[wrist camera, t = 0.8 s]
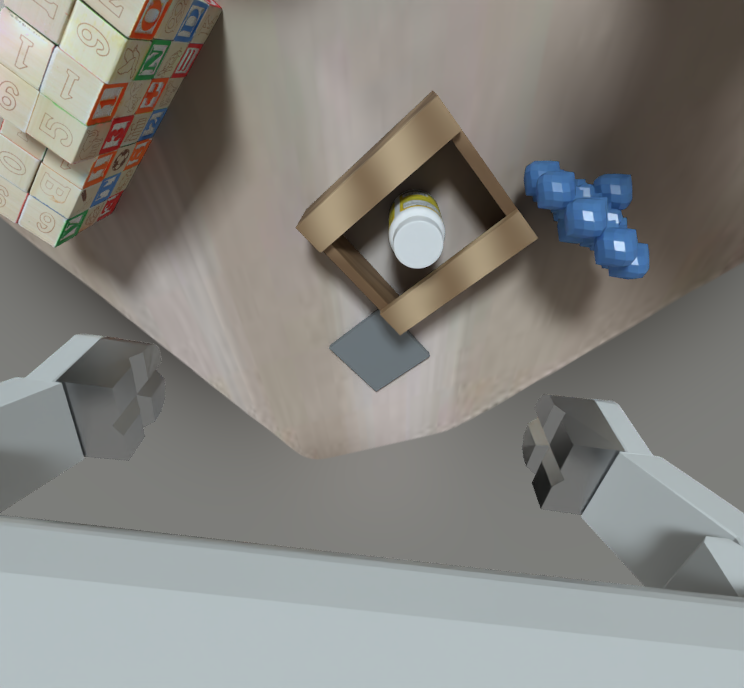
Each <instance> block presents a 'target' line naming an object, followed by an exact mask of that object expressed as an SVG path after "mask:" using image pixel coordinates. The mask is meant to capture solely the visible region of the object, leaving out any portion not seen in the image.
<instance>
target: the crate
mask: <svg viewBox="0 0 744 688" xmlns="http://www.w3.org/2000/svg"><path fill="white" fill-rule="evenodd" d="M450 140H452V141H453V143H454V144H455V145H456V147H457V148H458V150H459V151H460V152H461V154H462V155H463V157H464V158H465V159H466V161H467V162H468V163H469V165H470V166H471V168H472V169H473V170H474V172H475V173H476V175H477V176H478V177H479V179H480V180H481V182H482V183H483V184H484V186H485V187H486V188H487V190H488V191H489V193H490V194H491V195H492V197H493V198H494V200H495V201H496V202H497V204H498V205H499V206H500V208H501V209H502V211H503V212H504V213H505V215H506V217H505V218H503V219H502V220H501V221H499V222H498V223H497V224H495V225H494V226H493V227H491V228H490V229H489V230H487V231H486V232H485V233H483V234H482V235H481V236H479V237H478V238H477V239H475V240H474V241H473V242H471V243H470V244H469V245H467V246H466V247H465V248H463V249H462V250H461V251H459V252H458V253H457V254H455V255H454V256H453V257H451V258H450V259H449V260H447V261H446V262H445V263H443V264H442V265H441V266H439V267H438V268H437V269H435V270H434V271H432V272H431V273H430V274H428V275H427V276H426V277H424V278H423V279H422V280H420V281H419V282H418V283H416V284H415V285H414V286H412V287H411V288H410V289H408V290H407V291H406V292H404V293H403V294H402V295H400V296H399V295H398V294H397V293H396V292H395V290H394V289H393V288H392V287H391V286H390V285H389V284H388V283H387V282H386V281H385V280H384V279H383V277H382V276H381V275H380V274H379V273H378V272H377V271H376V270H375V269H374V268H373V267H372V266H371V264H370V263H369V262H368V261H367V260H366V259H365V258H364V257H363V256H362V255H361V254H360V253H359V251H358V250H357V249H356V248H355V247H354V246H353V245H352V244H351V243H350V242H349V241H348V240H347V239H346V237H345V236H344V235H343V233H344V232H345V231H347V230H348V229H349V228H350V227H351V226H352V225H353V224H355V223H356V222H357V221H358V220H359V219H360V218H361V217H363V216H364V215H365V214H366V213H367V212H368V211H370V210H371V209H372V208H373V207H374V206H375V205H376V204H378V203H379V202H380V201H381V200H382V199H383V198H384V197H386V196H387V195H388V194H389V193H390V192H391V191H392V190H394V189H395V188H396V187H397V186H398V185H399V184H400V183H402V182H403V181H404V180H405V179H406V178H407V177H409V176H410V175H411V174H412V173H413V172H414V171H415V170H417V169H418V168H419V167H420V166H421V165H422V164H423V163H425V162H426V161H427V160H428V159H429V158H430V157H431V156H433V155H434V154H435V153H436V152H437V151H438V150H440V149H441V148H442V147H443V146H444V145H445V144H446V143H448V142H449V141H450ZM296 229H297V230H298V231H299V232H300V233H301V234H302V235H303V236H304V237H305V238H306V239H307V240H308V241H309V242H310V243H311V244H312V245H313V246H314V247H315V248H316V249H317V250H318V251H319V252H320V253H321V252H322V251H323V252H324V253H325V254H326V255H327V256H328V257H329V258H330V259H331V260H332V261H333V262H334V263H335V264H336V265H337V266H338V267H339V268H340V269H341V270H342V271H343V272H344V274H345V275H346V276H347V277H348V278H349V279H350V280H351V281H352V282H353V283H354V284H355V285H356V286H357V287H358V288H359V289H360V290H361V291H362V292H363V293H364V294H365V295H366V296H367V297H368V298H369V299H370V300H371V301H372V303H373V304H374V305H375V306H376V307H377V308H378V309H379V310H380V315H381V316H382V317H383V318H384V319H385V320H386V321H387V322H388V323H389V324H390V325H391V326H392V327H393V328H394V329H395V331H396V332H397V333H398V334H399V335H401V334H403V333H404V332H406V331H407V330H409V329H410V328H411V327H413V326H414V325H416V324H417V323H418V322H420V321H421V320H423V319H424V318H426V317H427V316H428V315H430V314H431V313H433V312H434V311H436V310H437V309H438V308H440V307H441V306H443V305H444V304H446V303H447V302H448V301H450V300H451V299H453V298H454V297H455V296H457V295H458V294H460V293H461V292H463V291H464V290H465V289H467V288H468V287H470V286H471V285H473V284H474V283H475V282H477V281H478V280H480V279H481V278H482V277H484V276H485V275H487V274H488V273H490V272H491V271H492V270H494V269H495V268H497V267H498V266H500V265H501V264H502V263H504V262H505V261H507V260H508V259H509V258H511V257H512V256H514V255H515V254H517V253H518V252H519V251H521V250H522V249H524V248H525V247H527V246H528V245H529V244H531V243H532V242H534V241H535V240H537V239H538V237H537V236H536V234H535V233H534V232H533V230H532V229H531V227H530V226H529V224H528V223H527V222H526V220H525V219H524V217H523V216H522V215H521V213H520V212H519V210H518V209H517V208H516V206H515V205H514V204H513V202H512V201H511V199H510V198H509V196H508V195H507V194H506V192H505V191H504V189H503V188H502V186H501V185H500V184H499V182H498V181H497V179H496V178H495V177H494V175H493V174H492V172H491V171H490V169H489V168H488V167H487V165H486V164H485V162H484V161H483V159H482V158H481V157H480V155H479V154H478V152H477V151H476V150H475V148H474V147H473V145H472V144H471V142H470V141H469V140H468V138H467V137H466V135H465V134H464V132H463V131H462V129H461V128H460V126H459V125H458V124H457V122H456V121H455V119H454V118H453V116H452V115H451V114H450V112H449V111H448V109H447V108H446V106H445V105H444V104H443V102H442V101H441V99H440V98H439V97H438V95H437V94H436V93H435V92H434V91H432V92H431V93H430V94H429V95H427V96H426V97H425V98H424V99H423V100H422V101H421V102H420V103H419V104H418V105H417V106H416V107H415V108H414V109H413V110H412V111H410V112H409V113H408V114H407V115H406V116H405V117H404V118H403V119H402V120H401V121H400V122H399V123H398V124H397V125H396V126H395V127H393V128H392V129H391V130H390V131H389V132H388V133H387V134H386V135H385V136H384V137H383V138H382V139H381V140H380V141H379V142H378V143H376V144H375V145H374V146H373V147H372V148H371V149H370V150H369V151H368V152H367V153H366V154H365V155H364V156H363V157H362V158H361V159H359V160H358V161H357V162H356V163H355V164H354V165H353V166H352V167H351V168H350V169H349V170H348V171H347V172H346V173H345V174H344V175H342V176H341V177H340V178H339V179H338V180H337V181H336V182H335V183H334V184H333V185H332V186H331V187H330V188H329V189H328V190H327V191H325V192H324V193H323V194H322V195H321V196H320V197H319V198H318V199H317V200H316V201H315V202H314V203H313V204H312V205H311V206H310V207H308V208H307V209H306V211H305V212H304V214H303V216H302V218H301V219H300V221H299V223H298V225H297V226H296Z"/></svg>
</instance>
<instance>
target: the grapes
mask: <svg viewBox="0 0 744 688" xmlns="http://www.w3.org/2000/svg"><path fill="white" fill-rule="evenodd" d="M524 185H525V192H526V195H527V196H532V197H533V201H534V202H537V205H538V208H542V209H551V213H553V218H554V221H558V224H557V227H558V236H559V241H560V242H567V243H575V244H578V243H580V246H583V247H589V248H590V250H593V251H594V255H595V262H596V264H598V265H601V266H602V268H606V269H608V270H609V276H611V277H617V278H623V279H637V278H643V276H644V275H645V274H646V273H647V271H648V270H649V249H648V244H644V243H638V240H637V233H636V230H635V229H628V228H627V218H623V215H622V213H621V210H623V209H626V208H627V207H628V206H629V204H630V202H631V201H632V179H631V175H627V174H604V175H601V176H599V177H598V178H597V179H595V181H594V183H593V185H592V184H587V183H585V179H575V176H574V172H567V171H564V170H561V169H560V166H559V162H558V161H534V162H532V163H531V164H529V165H528V166H527V167H526V169H525V174H524Z"/></svg>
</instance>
